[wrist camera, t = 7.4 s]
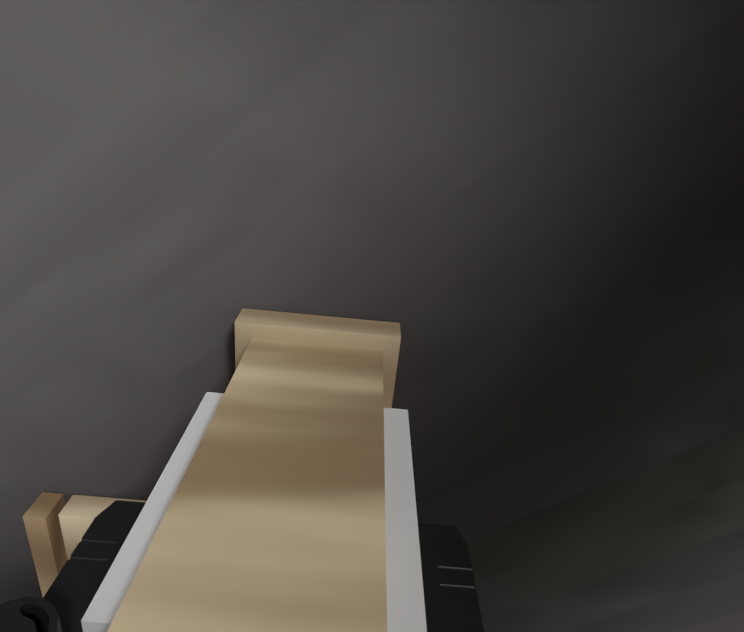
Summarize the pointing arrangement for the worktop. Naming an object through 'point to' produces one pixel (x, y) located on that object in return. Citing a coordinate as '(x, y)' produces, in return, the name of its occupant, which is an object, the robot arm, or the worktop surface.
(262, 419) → the tan boxy piece
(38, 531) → the lane rails
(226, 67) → the worktop surface
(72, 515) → the broken strip
